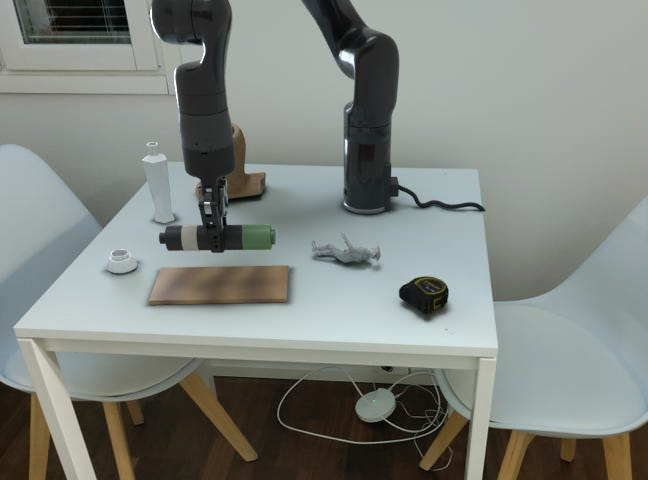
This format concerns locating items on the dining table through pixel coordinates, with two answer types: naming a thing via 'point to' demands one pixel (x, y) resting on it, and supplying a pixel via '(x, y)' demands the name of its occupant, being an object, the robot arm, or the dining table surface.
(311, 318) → the dining table surface
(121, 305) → the dining table surface
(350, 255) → the soldier figure
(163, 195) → the perfume bottle
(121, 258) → the white jar
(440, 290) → the tape measure
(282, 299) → the wooden board
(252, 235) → the marker
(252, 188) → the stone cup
